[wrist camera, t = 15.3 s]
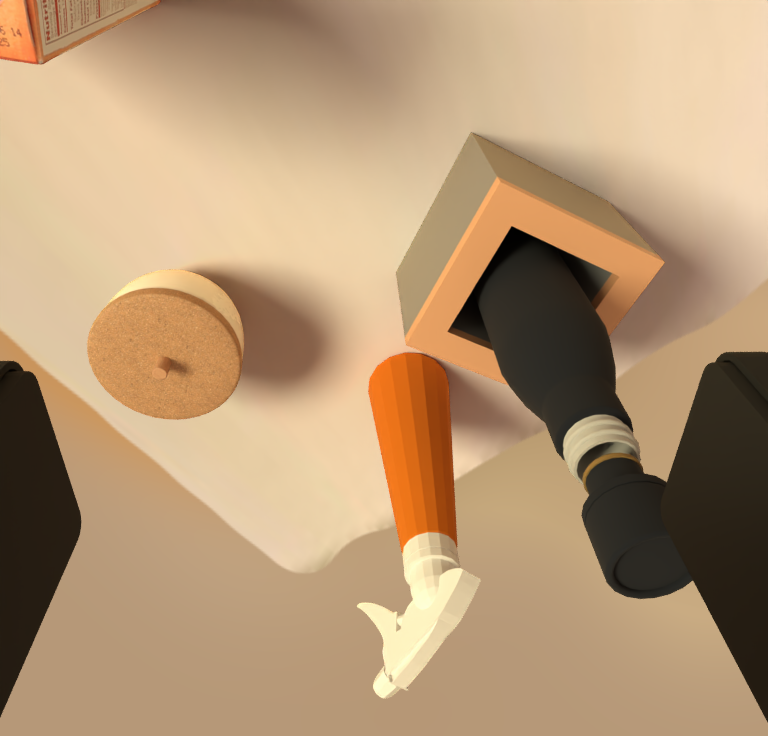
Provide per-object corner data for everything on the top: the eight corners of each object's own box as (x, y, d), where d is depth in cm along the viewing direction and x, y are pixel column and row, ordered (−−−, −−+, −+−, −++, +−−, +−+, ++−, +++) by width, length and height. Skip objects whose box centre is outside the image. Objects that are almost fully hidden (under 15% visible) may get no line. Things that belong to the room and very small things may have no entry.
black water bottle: (489, 194, 48) (639, 486, 23) (563, 229, 50) (778, 536, 25) (446, 269, 52) (540, 598, 27) (518, 300, 53) (669, 635, 28)
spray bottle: (326, 417, 61) (315, 694, 39) (403, 336, 57) (437, 596, 35) (387, 453, 64) (407, 731, 42) (464, 378, 60) (532, 645, 38)
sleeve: (471, 132, 48) (500, 181, 39) (608, 201, 51) (664, 262, 42) (396, 272, 54) (406, 344, 44) (523, 327, 57) (557, 404, 48)
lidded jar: (185, 220, 51) (156, 275, 43) (280, 319, 56) (269, 385, 48) (88, 298, 54) (44, 362, 46) (186, 385, 59) (161, 456, 51)
